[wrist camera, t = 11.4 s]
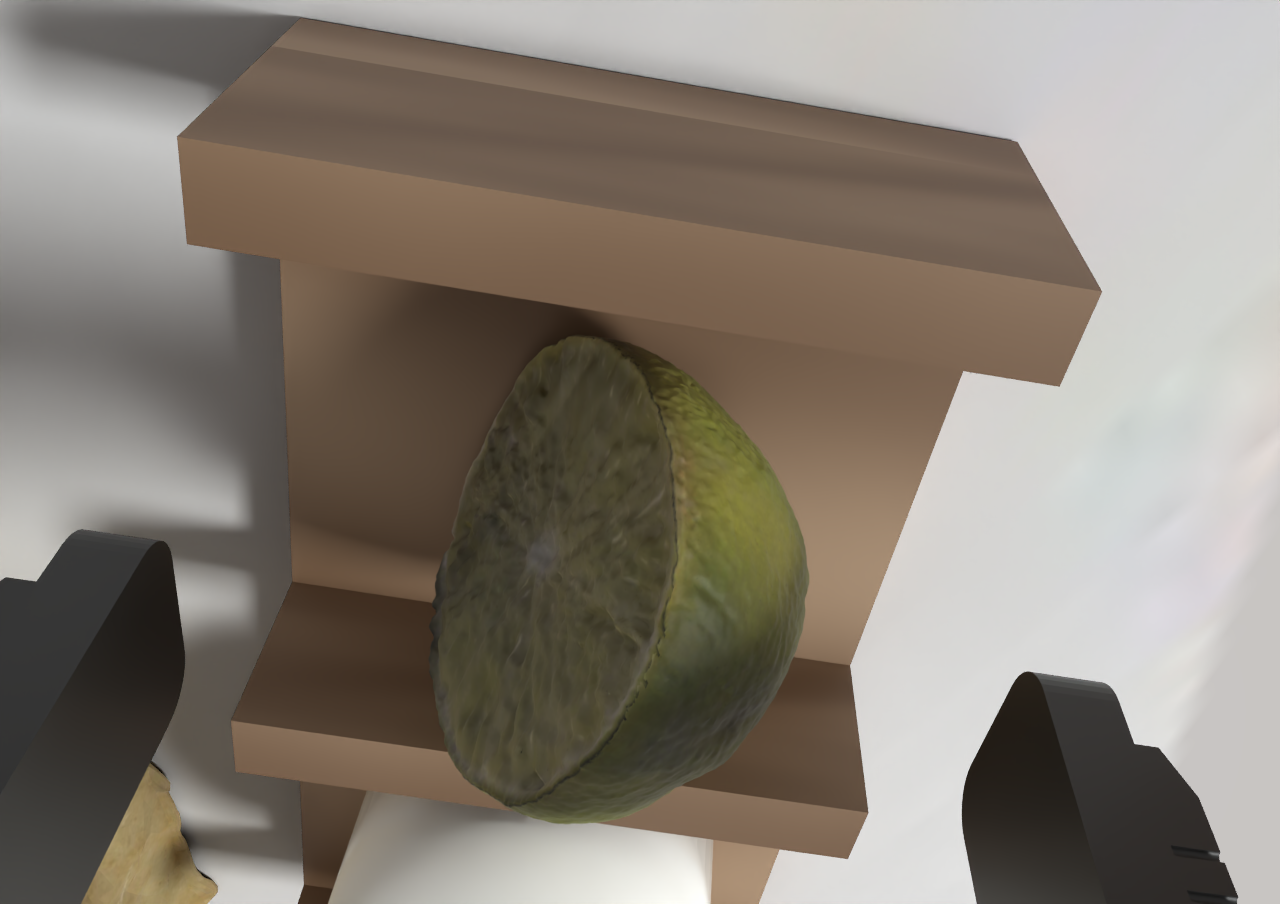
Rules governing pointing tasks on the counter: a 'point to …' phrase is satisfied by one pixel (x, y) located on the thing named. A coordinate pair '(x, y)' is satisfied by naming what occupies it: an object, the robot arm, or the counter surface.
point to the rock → (149, 854)
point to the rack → (610, 308)
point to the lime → (611, 589)
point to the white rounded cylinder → (511, 859)
